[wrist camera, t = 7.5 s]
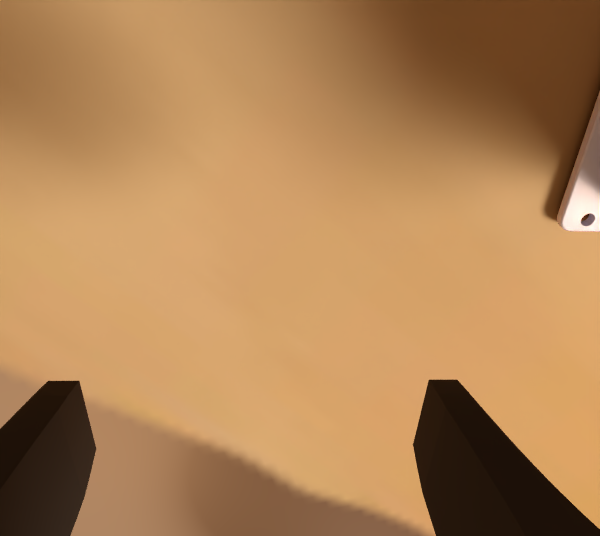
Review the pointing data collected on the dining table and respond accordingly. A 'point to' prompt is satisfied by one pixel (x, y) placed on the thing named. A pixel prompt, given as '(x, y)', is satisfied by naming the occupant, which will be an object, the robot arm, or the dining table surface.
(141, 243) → the dining table surface
